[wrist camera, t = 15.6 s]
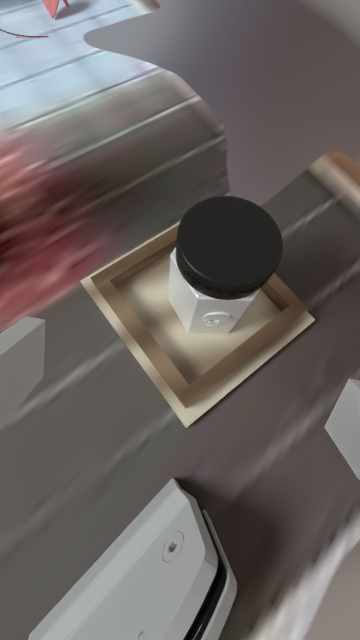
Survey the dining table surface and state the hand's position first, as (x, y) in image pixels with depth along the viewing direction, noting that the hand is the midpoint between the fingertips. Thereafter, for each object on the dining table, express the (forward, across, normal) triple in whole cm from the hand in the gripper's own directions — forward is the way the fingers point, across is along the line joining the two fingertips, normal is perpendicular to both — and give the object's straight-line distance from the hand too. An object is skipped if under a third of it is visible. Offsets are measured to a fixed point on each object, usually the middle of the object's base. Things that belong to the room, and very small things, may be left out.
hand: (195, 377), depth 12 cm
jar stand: (+21, +2, -3) cm, 21 cm away
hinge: (+4, 0, -24) cm, 24 cm away
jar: (+20, +3, -3) cm, 21 cm away
